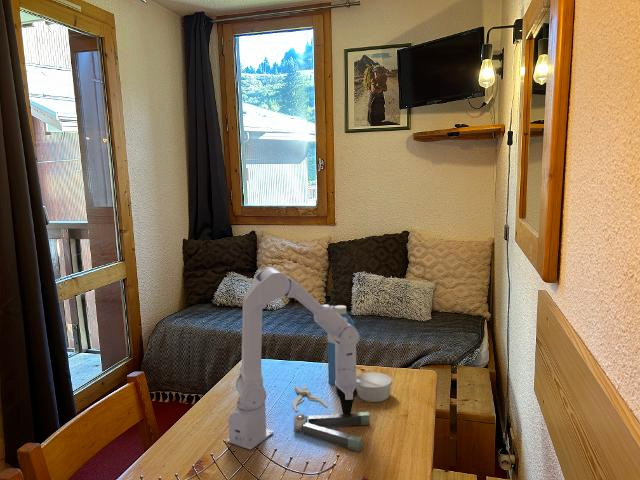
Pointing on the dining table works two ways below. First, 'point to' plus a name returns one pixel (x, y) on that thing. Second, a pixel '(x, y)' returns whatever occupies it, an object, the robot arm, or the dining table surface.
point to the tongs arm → (340, 419)
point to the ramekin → (374, 387)
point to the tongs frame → (327, 434)
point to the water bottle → (331, 345)
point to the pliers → (305, 392)
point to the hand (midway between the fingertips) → (346, 413)
